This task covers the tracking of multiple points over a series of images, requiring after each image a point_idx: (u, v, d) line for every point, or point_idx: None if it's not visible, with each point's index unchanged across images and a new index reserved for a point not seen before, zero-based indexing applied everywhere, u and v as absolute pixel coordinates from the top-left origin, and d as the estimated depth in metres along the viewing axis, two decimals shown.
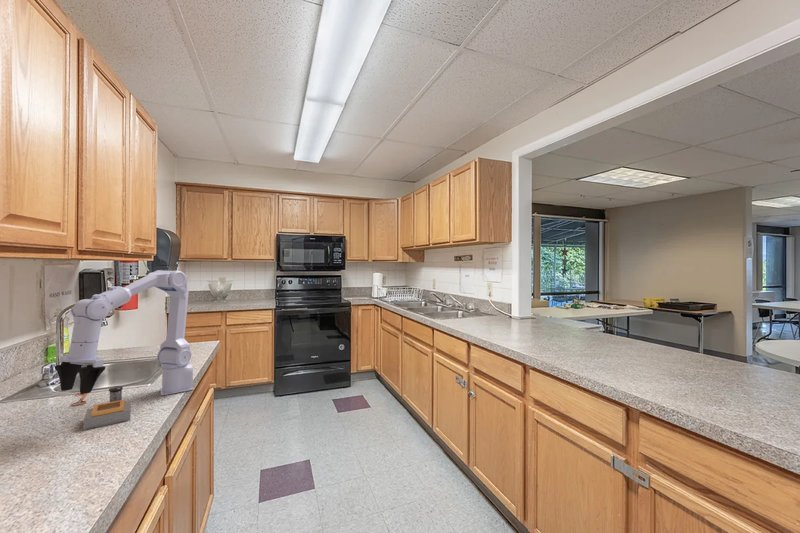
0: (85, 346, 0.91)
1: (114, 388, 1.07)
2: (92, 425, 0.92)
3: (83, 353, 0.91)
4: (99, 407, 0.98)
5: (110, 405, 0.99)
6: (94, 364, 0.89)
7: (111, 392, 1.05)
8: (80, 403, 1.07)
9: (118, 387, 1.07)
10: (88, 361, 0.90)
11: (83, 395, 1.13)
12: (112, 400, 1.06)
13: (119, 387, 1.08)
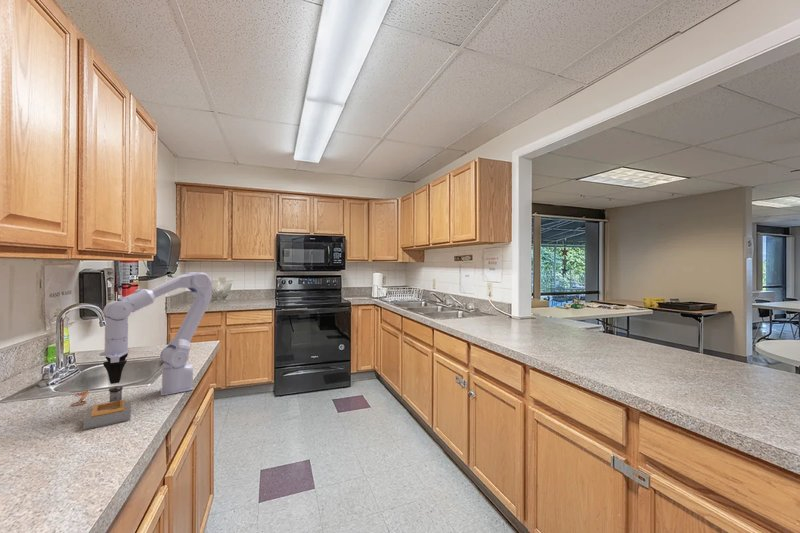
0: (111, 343, 1.04)
1: (114, 388, 1.07)
2: (92, 425, 0.92)
3: (110, 349, 1.04)
4: (99, 407, 0.98)
5: (110, 405, 0.99)
6: (110, 360, 1.01)
7: (111, 392, 1.05)
8: (80, 403, 1.07)
9: (118, 387, 1.07)
10: (109, 357, 1.02)
11: (83, 395, 1.13)
12: (112, 400, 1.06)
13: (119, 387, 1.08)
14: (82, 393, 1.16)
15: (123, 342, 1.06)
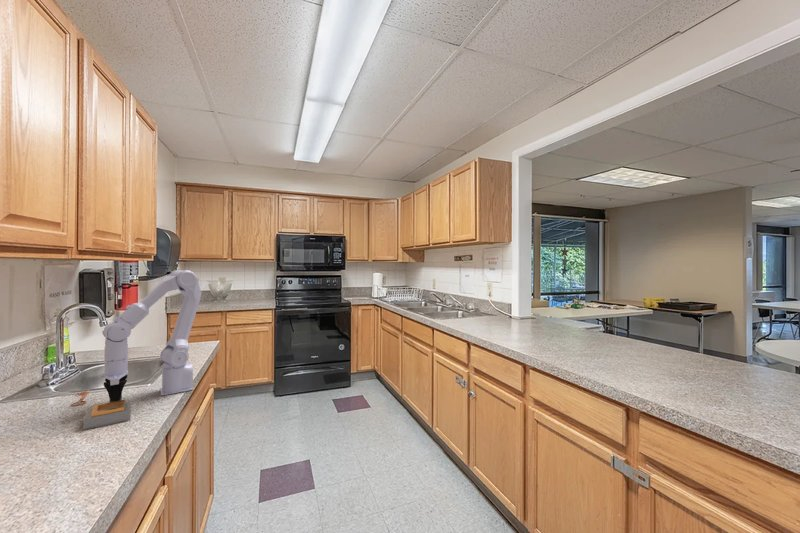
0: (110, 364, 1.04)
1: None
2: (92, 425, 0.92)
3: (110, 371, 1.04)
4: (99, 407, 0.98)
5: (110, 405, 0.99)
6: (110, 382, 1.01)
7: None
8: (80, 403, 1.07)
9: None
10: (109, 379, 1.02)
11: (83, 395, 1.13)
12: None
13: None
14: (82, 393, 1.16)
15: (123, 363, 1.06)
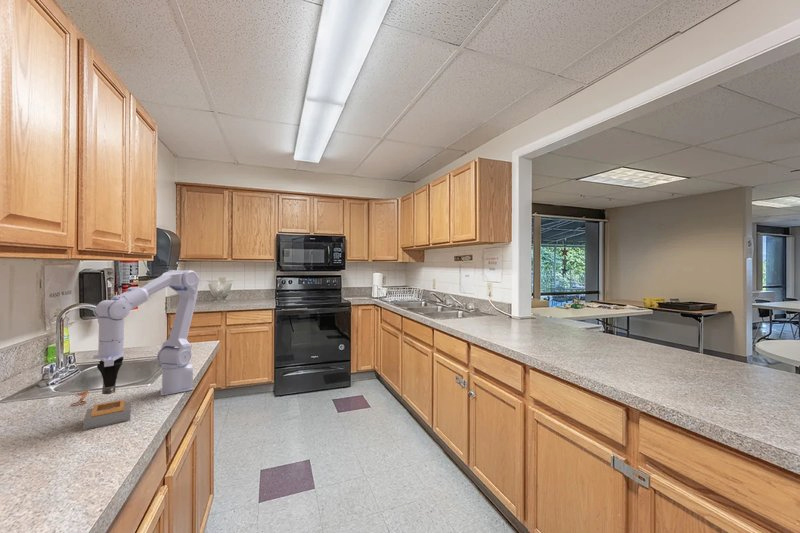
0: (105, 345, 0.97)
1: None
2: (92, 425, 0.92)
3: (104, 352, 0.97)
4: (99, 407, 0.98)
5: (110, 405, 0.99)
6: (104, 363, 0.93)
7: None
8: (81, 403, 1.07)
9: None
10: (103, 360, 0.95)
11: (83, 395, 1.13)
12: (105, 387, 0.98)
13: None
14: (82, 393, 1.16)
15: (118, 344, 0.99)
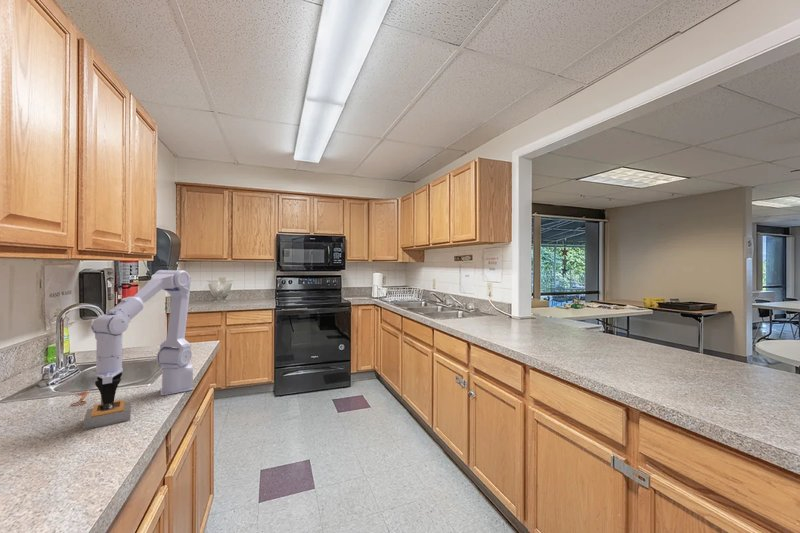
0: (103, 361, 0.94)
1: None
2: (92, 425, 0.92)
3: (102, 368, 0.94)
4: (99, 407, 0.98)
5: None
6: (102, 381, 0.91)
7: None
8: (81, 403, 1.07)
9: None
10: (101, 377, 0.92)
11: (83, 395, 1.13)
12: (103, 404, 0.95)
13: None
14: (82, 393, 1.16)
15: (117, 360, 0.96)
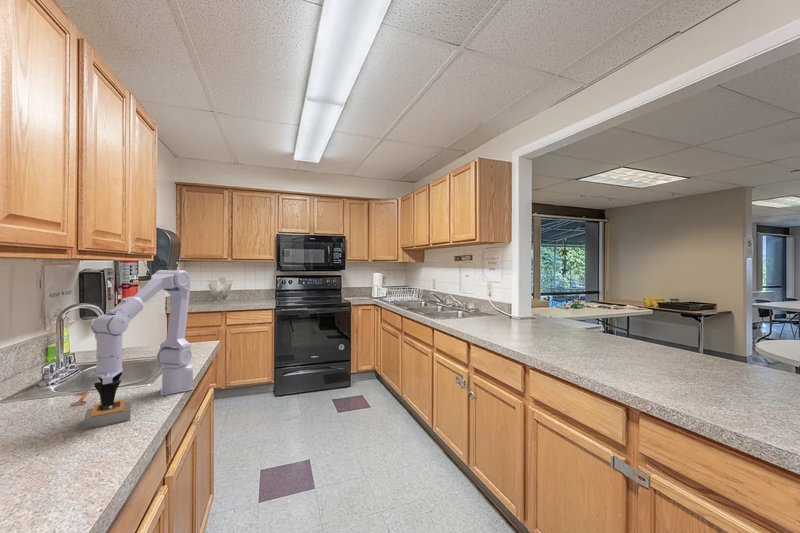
0: (103, 361, 0.94)
1: None
2: (92, 425, 0.92)
3: (102, 368, 0.94)
4: (99, 407, 0.98)
5: None
6: (102, 381, 0.91)
7: None
8: (80, 403, 1.07)
9: None
10: (101, 377, 0.92)
11: (83, 395, 1.13)
12: None
13: None
14: (82, 393, 1.16)
15: (117, 360, 0.96)
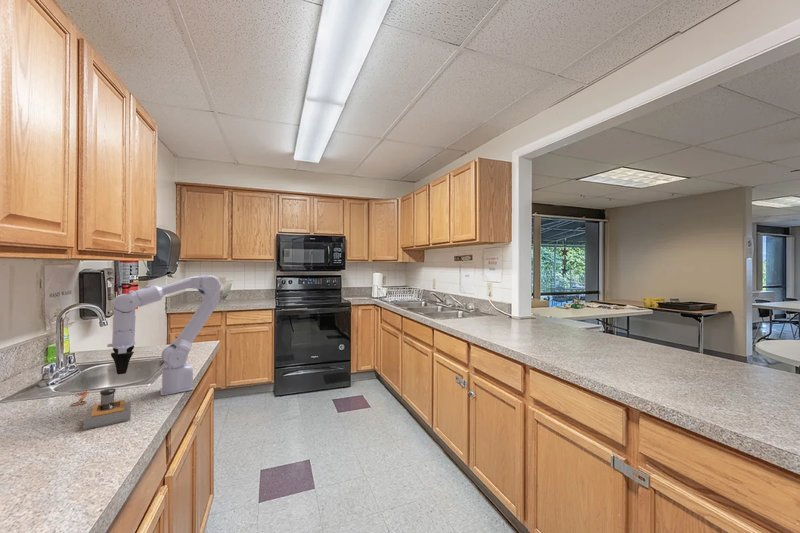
0: (118, 334, 1.07)
1: (106, 390, 0.97)
2: (92, 425, 0.92)
3: (118, 340, 1.07)
4: (99, 407, 0.98)
5: None
6: (118, 351, 1.04)
7: (103, 395, 0.95)
8: (80, 403, 1.07)
9: (110, 389, 0.97)
10: (117, 348, 1.05)
11: (83, 395, 1.13)
12: (103, 404, 0.96)
13: (111, 389, 0.98)
14: (82, 393, 1.16)
15: (130, 334, 1.09)
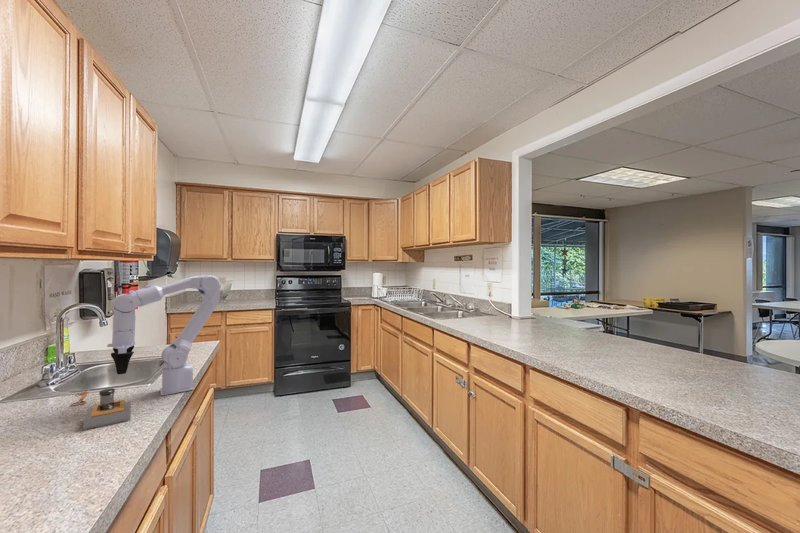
0: (118, 334, 1.07)
1: (105, 391, 0.96)
2: (92, 425, 0.92)
3: (118, 340, 1.07)
4: (99, 407, 0.98)
5: None
6: (118, 351, 1.04)
7: (102, 395, 0.95)
8: (80, 403, 1.07)
9: (109, 390, 0.97)
10: (117, 348, 1.05)
11: (83, 395, 1.13)
12: (103, 404, 0.95)
13: (111, 390, 0.97)
14: (82, 393, 1.16)
15: (130, 334, 1.09)
